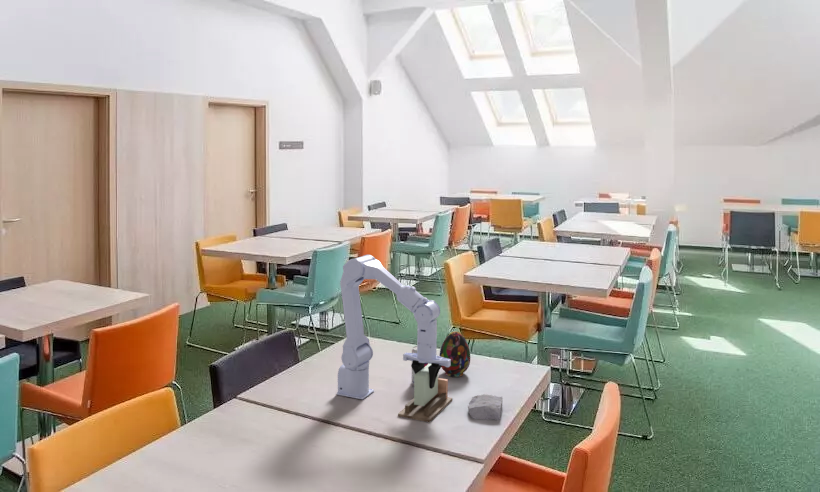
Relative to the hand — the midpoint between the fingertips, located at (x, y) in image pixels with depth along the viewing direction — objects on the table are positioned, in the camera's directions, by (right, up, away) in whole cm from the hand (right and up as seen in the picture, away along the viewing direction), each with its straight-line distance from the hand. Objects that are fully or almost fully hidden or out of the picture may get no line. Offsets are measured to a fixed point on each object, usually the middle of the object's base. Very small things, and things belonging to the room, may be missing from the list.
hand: (426, 386), depth 193 cm
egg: (+11, -3, +30) cm, 32 cm away
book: (0, -4, +1) cm, 4 cm away
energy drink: (-2, -4, +21) cm, 22 cm away
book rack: (0, -7, +1) cm, 7 cm away
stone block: (+17, -8, -1) cm, 19 cm away
